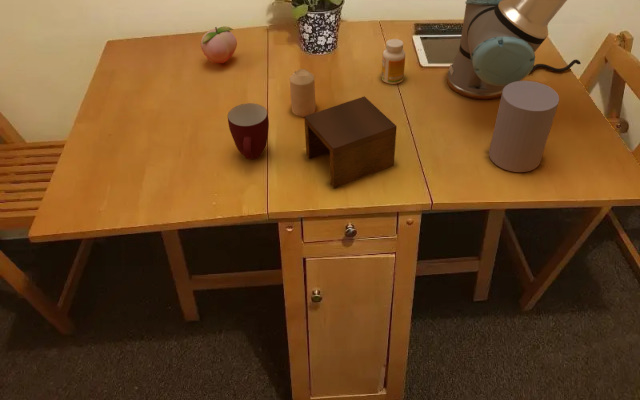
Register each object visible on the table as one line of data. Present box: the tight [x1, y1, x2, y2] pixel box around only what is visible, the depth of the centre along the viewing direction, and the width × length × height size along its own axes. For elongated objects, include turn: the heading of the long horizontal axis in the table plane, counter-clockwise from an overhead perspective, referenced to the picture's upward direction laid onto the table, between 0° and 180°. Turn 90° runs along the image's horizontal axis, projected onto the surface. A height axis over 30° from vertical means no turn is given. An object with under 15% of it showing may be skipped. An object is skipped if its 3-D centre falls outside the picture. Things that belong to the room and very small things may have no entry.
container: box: [488, 80, 560, 173], centre depth 115 cm, size 10×10×15 cm
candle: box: [289, 68, 317, 118], centre depth 131 cm, size 6×6×10 cm
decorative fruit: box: [200, 26, 238, 64], centre depth 147 cm, size 9×8×10 cm
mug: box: [227, 102, 270, 160], centre depth 119 cm, size 10×8×10 cm
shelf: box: [303, 95, 398, 189], centre depth 117 cm, size 14×12×10 cm
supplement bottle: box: [381, 38, 406, 85], centre depth 140 cm, size 5×5×10 cm
